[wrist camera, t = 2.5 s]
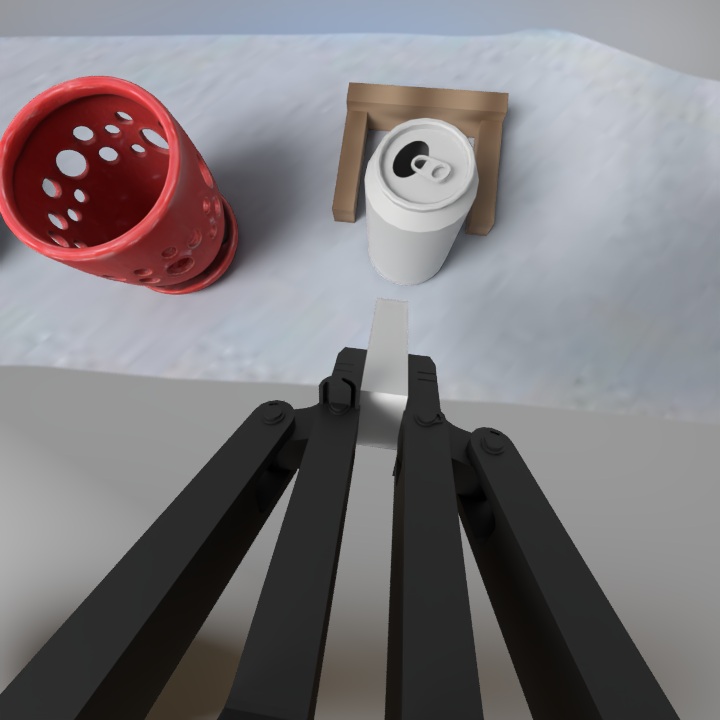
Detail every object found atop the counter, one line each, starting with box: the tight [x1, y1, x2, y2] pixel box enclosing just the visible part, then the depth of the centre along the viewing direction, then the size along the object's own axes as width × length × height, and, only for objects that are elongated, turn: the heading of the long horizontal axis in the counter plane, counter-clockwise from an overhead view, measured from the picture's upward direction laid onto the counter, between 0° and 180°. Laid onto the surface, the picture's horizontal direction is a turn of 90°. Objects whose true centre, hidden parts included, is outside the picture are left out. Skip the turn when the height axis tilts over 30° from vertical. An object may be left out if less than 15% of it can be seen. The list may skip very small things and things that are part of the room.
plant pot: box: [0, 76, 238, 295], centre depth 26 cm, size 13×13×12 cm
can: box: [365, 118, 479, 285], centre depth 25 cm, size 8×8×12 cm
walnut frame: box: [332, 82, 509, 236], centre depth 31 cm, size 15×12×3 cm
